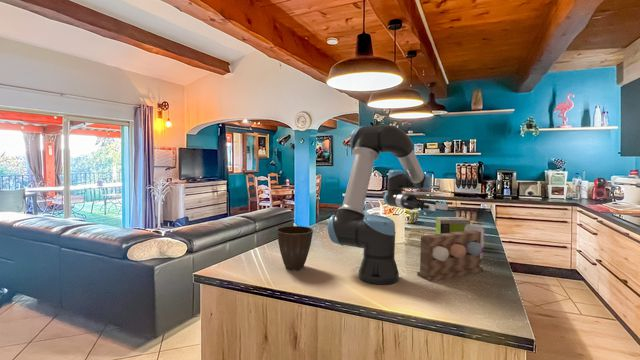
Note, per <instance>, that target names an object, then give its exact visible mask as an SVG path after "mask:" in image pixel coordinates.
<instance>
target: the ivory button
mask: <svg viewBox="0 0 640 360" xmlns="http://www.w3.org/2000/svg"><path fill="white" fill-rule="evenodd" d="M448 255H449V252H448V250H447V249H446V248H443V247H440V246H433V254H432V258H435V259H437V260H440V261H445V260H446V259H447V258H448Z"/></svg>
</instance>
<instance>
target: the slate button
mask: <svg viewBox="0 0 640 360" xmlns="http://www.w3.org/2000/svg"><path fill="white" fill-rule="evenodd" d="M481 251H482V246H481V244H480V243H476V242H473V241H467V253H469V254H473V255H476V256H478V255H480V253H481Z"/></svg>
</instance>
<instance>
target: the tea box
mask: <svg viewBox="0 0 640 360" xmlns="http://www.w3.org/2000/svg"><path fill="white" fill-rule="evenodd" d="M467 224H471V220H470V219H468V218H466V217H463V216H459V217H458V216H457V217H454V216H436V218H435V234H443V233H452V232H460V231H464V229H465V227H466V225H467Z"/></svg>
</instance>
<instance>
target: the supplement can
mask: <svg viewBox="0 0 640 360" xmlns="http://www.w3.org/2000/svg"><path fill="white" fill-rule="evenodd" d="M469 230H475V231H479V232H481V246H482V251H481V253H480V260H482V259H483V258H484V247H485V246H484V244H485V243H484V242H485V241H484V240H485V228H484V226H483V225H481V224H475V223H474V224H471V223H470V224H467V225H466V227H465V229H464V231H469Z"/></svg>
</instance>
